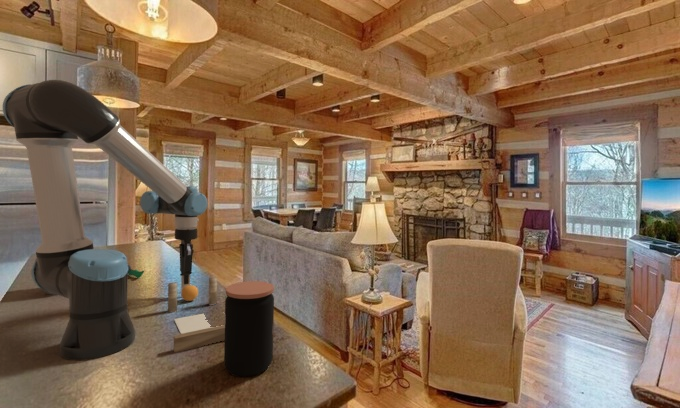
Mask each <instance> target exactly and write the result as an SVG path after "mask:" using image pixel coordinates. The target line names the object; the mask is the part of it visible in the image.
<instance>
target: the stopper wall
mask: <svg viewBox="0 0 680 408" xmlns="http://www.w3.org/2000/svg"><path fill="white" fill-rule="evenodd" d="M224 340H225V325H221V326H216V327H212V328H207V329H202V330H197V331H192V332H188V333H183V334H181V333H178V334H175V335H173V352H174V353H175V354H176V353H179V352H183V351H188V350H192V349H195V348H201V347H205V346H208V344H209V345H213V344H212V343H214V344H217V343H216V342H218V343H221V342H220V341H222V342H225V341H224ZM204 345H205V346H204Z"/></svg>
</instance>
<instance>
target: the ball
mask: <svg viewBox="0 0 680 408" xmlns="http://www.w3.org/2000/svg"><path fill="white" fill-rule="evenodd" d="M198 295H199V289H198V288H197V286H195V285H193V284H190V285H188V286H186V287H184V288H183V290H182V292H181V291H180V296H181V298H182V299H183V300H184V301H187V302H191V301H194V300H195V299H196V298H197V297H198Z"/></svg>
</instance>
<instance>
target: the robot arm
mask: <svg viewBox="0 0 680 408" xmlns="http://www.w3.org/2000/svg"><path fill="white" fill-rule="evenodd" d="M2 113H3V116H4V118H5V120H7V122H8V124H10V125H11V126H12V127H13V128H14V134H15V139H16V141H17V142H18V143H20V145H21V144H22V145H23V146H24V147H25V148H26V152H27V157H28V158H27V159H28V165H29V170H30V176H31V181H32V183H31V184H32V188H33V193H34V200H35V201H34V202H35V205H36V211H37V212H36V213H37V218H38V224H39V231H40V237H41V244H39V246H37V248H35V257H36V258H37V260H36V259H35V260H36V262H35V261H34V263H32V268H31V278H32V281H33V282H34V284H35V286H37V288H39V289H41V290H42V291H43V292H45V293H46V292H47V293H51V294H50V295H54V296H60V297H63V298H65V299H69V300H68V301H69V302H68V303H69V304H68V305H69V307H68V308H69V309H68V310H69V316H68V317H69V319H68V322H67V325H66V327H65V330H64V332H63V334H62V338H61V341H60V343H59V356H60V357H61V358H63V359H65V360H70V361H81V360H82V361H83V360H90V359H91V360H92V359H97V358H100V357H105V356H109V355H111V354H114V353H117V352H120V351H121V350H124V349H126V348H128V347H129V346H131V345H132V344H133V343H134V341H135V340H136V329H135V326H134V323H133V321H132V318H131V316H130V314H129V311H128V276H129V274H128V265H129V264H128V257H127V256H126V254H125V253H123V252H122V251H119V250H116V249H105V248H94V242H93V240H92V239H89V238H88V237H86V236H85V229H84V224H83V223H84V222H83V217H82V216H83V215H82V210H81V209H82V208H81V202H80V195H79V188H78V180H77V173H76V167H75V160H74V154H73V147H74V146H75V145H76V144H77V143H78V142H79V139H80V140H82V141H83V142H85V143H86V144H88V145H95V146H97V147H98V148H99V149H100V150H101V151H102V152H104V153H105V154H106V155H107V156H108V157H110V158H111V159H113V160H114V161H115V162H116V163H118V164H119V165H120V166H121V167H123V168H124V169H125V170H126V171H127V172H129V173H130V174H131V175H133V176H134V177H135V178H136V179H137V180H139V181H140V182H141V183H143V184H144V185H145V186H146V187H148V188H149V190H146V191H144V192H143V193H142V194H141V196H140V200H139V201H140V208H141V211H143V213H146V214H153V215H156V214H157V215H158V214H165V215H166V214H167V215H174V228H176V229H174V239H175V240H178V241H180V243H179V246H178V248H179V271H180V273H179V275H180V293H181V292H182V290H183V288H184V287H186V286H188V285H191V275H192V269H193V258H194V257H193V255H194V252H195V250H194V244H193V243H192V240H196V239H197V238H198V228H197V227H198V222H199V221H200V219H199V218H198V217H199V216H201V215H203V214H204V213H205V212H206V210H207V209H208V198H207V197H206V195H205V194H204V193H203V192H202V193H201V192H199V190H198V188H197V186H193V185H192V186H190V185H189V186H187V185H186V184H185V183H184V182H183V181H181V180H180V179H179V178H178V177H177V176H176V175H175V174H174V173H173V172H172V171H171V170H170V169H168V168H167V167H166V165H164V163H162V162H161V161H160V160H159V159H158V158H156V156H155V155H154V154H152V153H151V151H149V150H148V149H146V147H145V145H143V144H141V143H140V142H139V140H137V139H136V138H135V137H134V136H133V135H132V134H130V132H129V131H127V129H125V128H124V127H123V126H122V125H121V121H120V117H118V116H117V114H115V113H114V112H113V111H112V110H111V109H110V108H109V107H107V105H106V104H104V103H103V102H102V101H101V100H99V99H98V98H97V97H96V96H94V95H93V94H92V93H90V92H89V91H87V90H85V89H84V88H82V87H80V86H78V85H77V84H75V83H73V82H70V81H66V80H62V79H48V80H44V81H41V82H37V83H32V84H29V83H28V84H25V85H21V86H18V87H16V88H14V89H13V90H11V91H10V92H9V93H8V94H7V95H6V96H5V97H4V99H3V102H2ZM47 293H46V294H47Z"/></svg>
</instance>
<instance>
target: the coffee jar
mask: <svg viewBox="0 0 680 408" xmlns="http://www.w3.org/2000/svg"><path fill="white" fill-rule="evenodd" d="M274 291H275V286H274V285H273V284H272V283H270V282H266V281H260V280H249V281H247V280H246V281H238V282H235V283H232V284H230V285H228V286H226V288H225V295H226V297H225V300H224V314H225V341H224V347H223V348H224V355H223V360H224V361H223V362H224V368H225V369H226V370H227V372H228V371H229V372H228V374H230V373H231V374H230V375H232V374H233V376H234V375H236V376H235V377H239V376H240V378H241V377H242V376H243V377H242V378H247V377H248V376H249V377H254V376H253V375H255V376H257V375H259V374H258V373H260V374H262V373H263V371H264V370H265V371H267V370H268V368H269V367H270V365H271V364H272V362H273V358H274V355H273V354H274V321H275V320H274V317H275V315H274V314H275V313H274V309H275V297H274V294H273V292H274ZM268 366H269V367H268ZM265 371H264V372H265ZM261 372H262V373H261ZM256 374H257V375H256Z"/></svg>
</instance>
